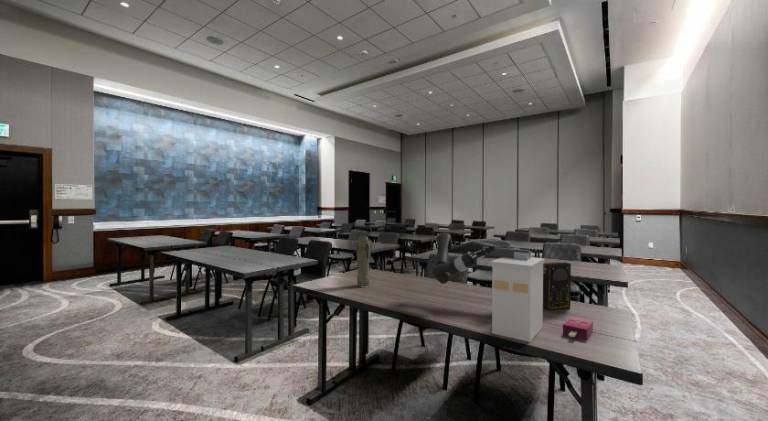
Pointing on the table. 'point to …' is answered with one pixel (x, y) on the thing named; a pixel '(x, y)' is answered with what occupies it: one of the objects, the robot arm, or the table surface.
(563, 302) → the voltmeter
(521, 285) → the cabinet
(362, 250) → the thermos
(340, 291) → the table surface
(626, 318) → the table surface
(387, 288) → the table surface
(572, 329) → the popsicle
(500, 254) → the cable bar
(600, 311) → the table surface
